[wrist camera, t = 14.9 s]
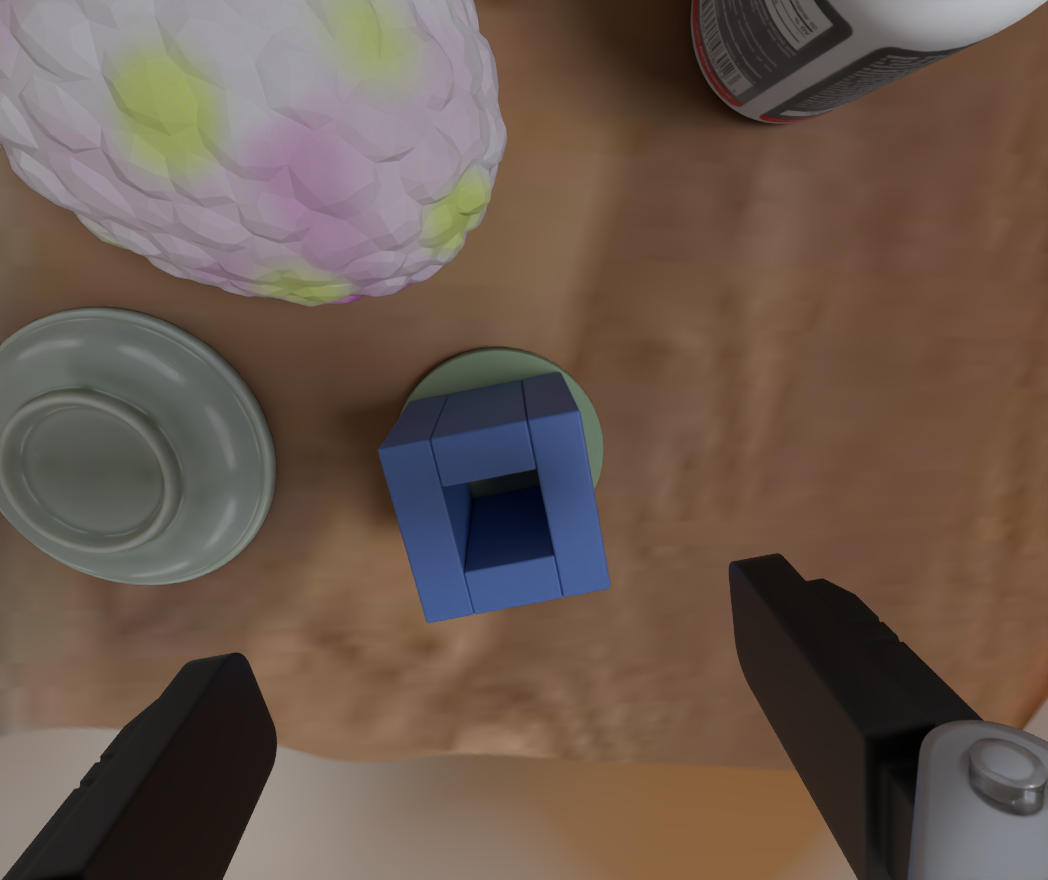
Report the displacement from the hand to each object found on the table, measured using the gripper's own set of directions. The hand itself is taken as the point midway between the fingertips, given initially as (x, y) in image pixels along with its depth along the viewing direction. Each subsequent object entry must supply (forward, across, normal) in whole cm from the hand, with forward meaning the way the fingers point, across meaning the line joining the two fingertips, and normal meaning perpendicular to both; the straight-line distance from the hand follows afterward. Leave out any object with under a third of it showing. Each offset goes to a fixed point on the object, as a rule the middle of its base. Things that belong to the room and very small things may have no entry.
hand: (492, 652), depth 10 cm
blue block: (+10, 0, 0) cm, 10 cm away
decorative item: (+11, +4, -11) cm, 16 cm away
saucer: (+8, +12, -2) cm, 15 cm away
